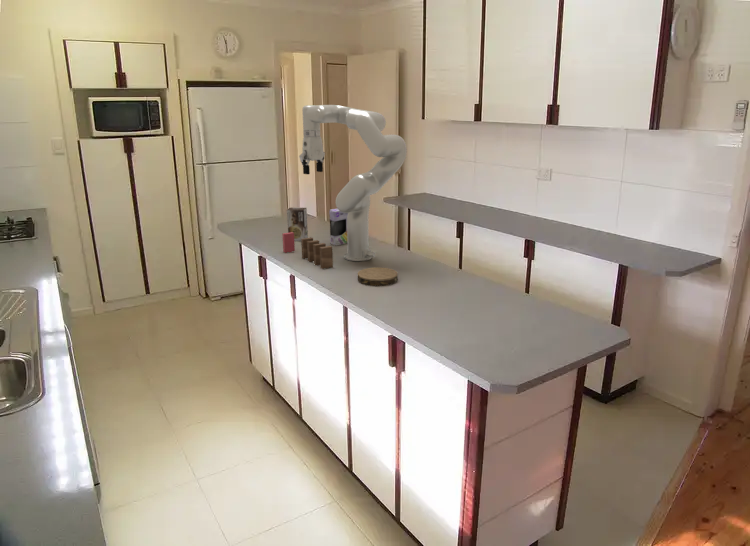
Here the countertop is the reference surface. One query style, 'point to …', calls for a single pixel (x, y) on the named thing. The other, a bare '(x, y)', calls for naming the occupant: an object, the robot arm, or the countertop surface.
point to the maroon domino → (288, 242)
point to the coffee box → (297, 223)
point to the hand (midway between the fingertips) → (313, 172)
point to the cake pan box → (338, 227)
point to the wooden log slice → (377, 276)
